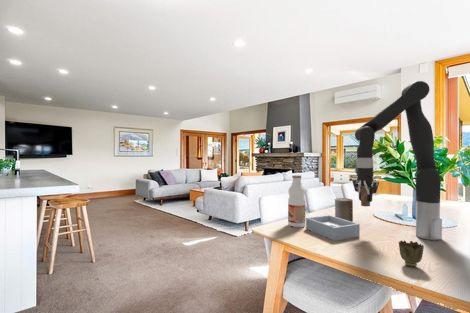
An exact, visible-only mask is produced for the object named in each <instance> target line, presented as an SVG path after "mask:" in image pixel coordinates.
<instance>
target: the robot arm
mask: <svg viewBox="0 0 470 313" xmlns="http://www.w3.org/2000/svg"><path fill="white" fill-rule="evenodd" d="M429 93H430V86H429V84H428V83H427V82H425V81H423V80H416V81H413V82H412V83H410V84H408V85H407V86H406V87H404V88H403V89H402V91H401V96H400V97H398V98H397V99H396V100H394V101H393V102H391V103H390V104H389V105H387V106H386V107H385V108H383V109H382V110H380V111H379V112H378V113H377V114H375V116H373V117H372V118H371V119H370V120H368V122H366V123H364V124H363V125H362V126H360V127H359V128H357V129H356V131H355V132H354V137H355V138H354V139H356V140H357V141H358V142H359V144H358V147H357V149H356V176H357V178H356V179H353V180H352V182H351V183H352V185H353V188H354V191H355V192H357V193H358V200H359V201H360V202H361V186H365V188H366V190H367V202H370V203H372V201H373V195H374V194H377V192H378V188H379V184H380V182H379V181H375V180H374V176H375V175H374V158H373V156H374V155H373V153H374V152H373V151H374V150H373V147H374V142H375V137H376V136H375V134H376V133H377V132H379V131H380V130H382V129H384V128H385V127H387V125H389V124H390V123H391V122H392V121H394V120H395V119H396V118H397V117H398V116H400V115H401V114H402V113H403V112H405V114H406V122H407V128H408V135H409V141H410V144H411V149H412V152H413V154H414V157H415V162H416V163H415V164H416V175H415V176H416V177H415V236H416V237H417V238H420V239H424V240H430V241H433V242H434V241H440V240H442V239H443V219H442V218H441V186H442V185H441V175H440V173H439V171H438V168H437V165H436V161H435V151H434V150H435V147H434V146H435V144H434V141H435V140H434V134H433V128H432V126H431V123H430V121H429V120H428V119H427V117H426V115H425V114H424V112H423V109H422V100H423V99H425V98H426V97H427V96H428V95H429ZM368 187H370V188H368Z"/></svg>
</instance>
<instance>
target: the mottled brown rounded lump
mask: <svg viewBox="0 0 470 313" xmlns="http://www.w3.org/2000/svg"><path fill="white" fill-rule="evenodd" d="M398 247H399V254H400V258H402V260H403V261H404V265H405V266H407V267H409V268H417V267H418V264H419V263H420V262H421V261H422V259H423V255H424V247H425V246H424V244H422V243H418V241H414V242H413V241H412V240H410V241H409V242H407V241H406V240H405V239H404V240H400V241H398Z"/></svg>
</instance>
